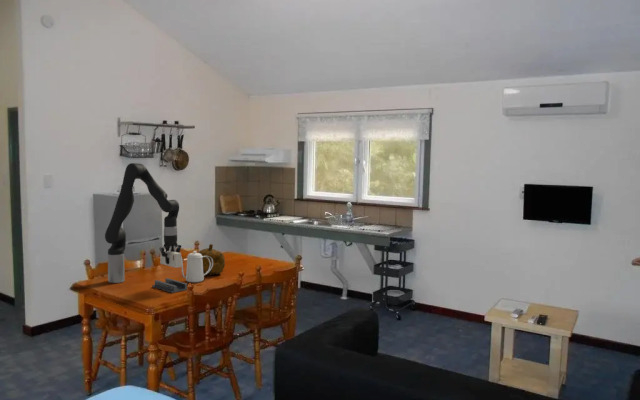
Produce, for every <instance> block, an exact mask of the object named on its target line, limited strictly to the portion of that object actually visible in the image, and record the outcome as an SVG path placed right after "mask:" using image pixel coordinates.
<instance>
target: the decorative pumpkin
mask: <svg viewBox="0 0 640 400" xmlns="http://www.w3.org/2000/svg"><path fill="white" fill-rule="evenodd" d="M213 247H214V245H213V244H212V243H211V244H209V246H208V248H207V247H206V248H203V249H201V250H200V251H198V252H197V253H200V254H201V255H202V256H205V257H202V261H203V274H205V273H206V272H207V271H208V269H209V267H210V262H211V266H212V260H213V267H212V269H211V270H210V271H209V273H207V274H206V275H207V276H213V275H219V274H222V272H223V271H224V269H225V265H226V262H225V261H226V260H225V256H224V254H223V252H221V251H219V250H216V249H213ZM208 256H209V257H208ZM210 257H211V258H212V259H211V258H210ZM208 258H209V259H208ZM209 260H210V262H209ZM210 268H211V267H210ZM206 275H205V276H206Z"/></svg>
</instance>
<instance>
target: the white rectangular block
mask: <svg viewBox="0 0 640 400" xmlns="http://www.w3.org/2000/svg"><path fill="white" fill-rule="evenodd" d="M165 250H166V249H165ZM165 250H164V251H165ZM159 253H160V255H159V257H160V261H159V262H160V265H165V266H168V267H171V268H175V269H176V268H182V266H181V257H182V252H180V253H178V252H173V251H171V252H170V254H169V264H166V261H165V257H163V256H162V254H161V251H160V250H159Z"/></svg>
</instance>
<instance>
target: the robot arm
mask: <svg viewBox="0 0 640 400" xmlns="http://www.w3.org/2000/svg"><path fill="white" fill-rule="evenodd" d="M136 180H140V181H141V182H143V183H144V184H145V185H146V187H147V190H148V193H149V195H151V196H152V197H153V199H154V200H155V201H157V204H158V206H159V207H160V210H162V211H163V212H164V213H167V216H165V217H164V218H163V219H164V220H163V226H164V227H163V243H164V244H163V246H162V247H161V246H160V247H159V249H158V250H159V252H160V251H161V254H162V256H163V257H165V261H166V264H169V254H170V252H171V251H173V252H178V253H181V249H182V244H181V245H180V244H178V225H177V223H178V222H177V219H178V217H179V212H180V204H179V202H178V200H176V199H167V198H168V194H167V192H166V191H165V190H164V189H163V188H162V187H161V186H160V185H159V184H158V183H157V182H156V180H155V179H154V177H153V176H152V174H151V173H150V171H149V170H148V168H147V167H146V166H145V165H144V164H143V163H139V162H138V163H137V162H135V163H134V162H133V163H132V162H131V163H129V164H127V166H126V168H125V171H124V173H123V180H122V185H121V187H120V191H119V194H118V197H117V201H116V203H115V207H114V210H113V213H112V216H111V219H110V222H109V224H108V226H107V228H106V230H105V234H104V239H105V242H106V243H107V244H109V245H110V244H111V245H110V247H109V248H108V250H107V281H108V283H110V284H119V283H124V282H125V280H126V279H125V250H126V245H127V244H126V242H127V241H126V240H127V239H126V238H127V237H126V236H127V234H126V232H125V229H124V228H123V227H122V226H123V225H122V224H123V222H124V221H125V220H126V219H127V217H128V216H129V214H131V211H132V210H133V207H134V203H135V195H134V191H133V190H134V184H135V181H136ZM164 250H165V251H164Z"/></svg>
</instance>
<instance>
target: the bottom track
mask: <svg viewBox="0 0 640 400" xmlns="http://www.w3.org/2000/svg"><path fill="white" fill-rule="evenodd" d="M187 285H189V283H186V282H182V281H179V280H176V279H173V278H172V279H171V278H168V277H167V278H165V279H164V281H162V280H159V279H158V280H154V284H153V285H152V288H154V289H158V290H162V291H164V292H166V293H167V292H168V293H171V294H175V293H178V292H183V291H188V290H187Z"/></svg>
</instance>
